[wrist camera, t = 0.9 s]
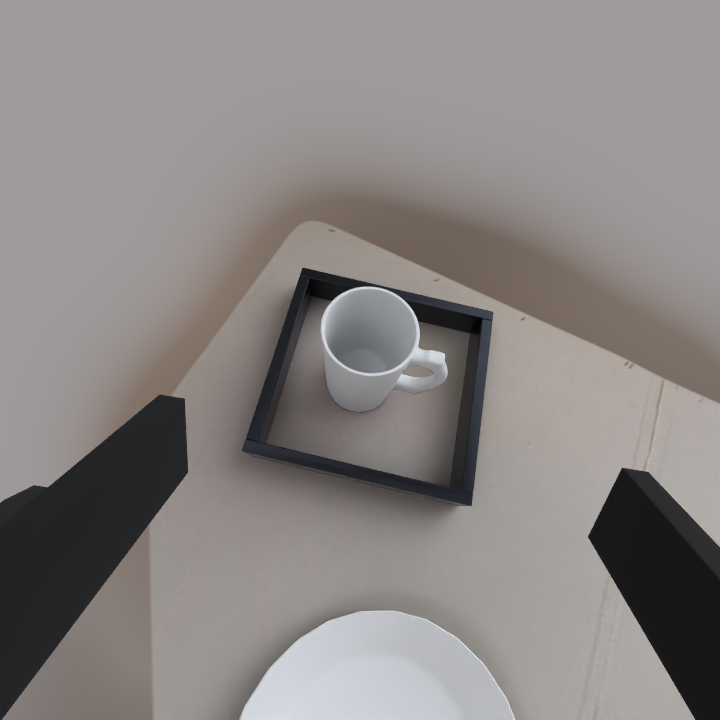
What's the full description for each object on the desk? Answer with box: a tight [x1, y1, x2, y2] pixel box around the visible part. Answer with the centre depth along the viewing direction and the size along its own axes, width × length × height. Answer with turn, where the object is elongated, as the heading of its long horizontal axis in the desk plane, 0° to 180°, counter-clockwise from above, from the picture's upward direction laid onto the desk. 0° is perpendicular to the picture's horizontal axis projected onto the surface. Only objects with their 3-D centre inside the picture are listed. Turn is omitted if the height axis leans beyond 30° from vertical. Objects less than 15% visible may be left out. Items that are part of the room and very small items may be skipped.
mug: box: [321, 287, 448, 412], centre depth 32 cm, size 10×7×12 cm, turn 73°
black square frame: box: [242, 268, 493, 506], centre depth 36 cm, size 19×18×4 cm
